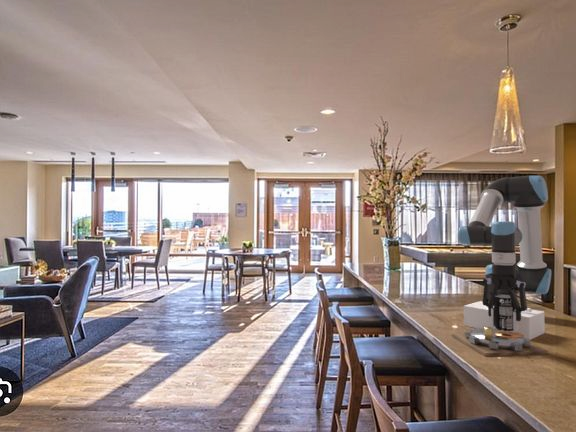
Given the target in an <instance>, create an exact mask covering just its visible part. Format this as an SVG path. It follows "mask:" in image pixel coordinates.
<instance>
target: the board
mask: <svg viewBox="0 0 576 432" xmlns="http://www.w3.org/2000/svg"><path fill="white" fill-rule="evenodd" d="M451 337H452V338H453V339H455V340H457V341H458V342H460V343H462V344H464V345H465V346H466V347H469V348H470V349H472V350H473V351H475V352H477V353H478V354H480V355H482V356H483V357H500V356H501V357H502V356H525V355H526V356H528V355H531V356H533V355H549V350H547V349H544V348H543V347H540V346H538V345H536V344H534V343H532V342H530V347H525V346H524V347H522V350H518V351H515V350H512V349H500V348H499V349H498V350H497V349H491V348H489V347H488V346H484V345H480V344H473V343H471V342H469V338H466V337H465V333H452V334H451Z"/></svg>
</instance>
